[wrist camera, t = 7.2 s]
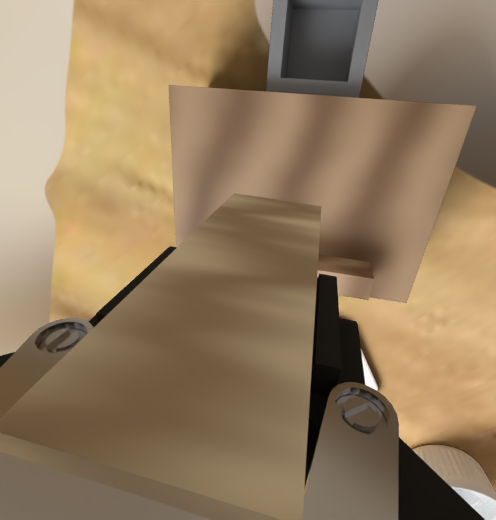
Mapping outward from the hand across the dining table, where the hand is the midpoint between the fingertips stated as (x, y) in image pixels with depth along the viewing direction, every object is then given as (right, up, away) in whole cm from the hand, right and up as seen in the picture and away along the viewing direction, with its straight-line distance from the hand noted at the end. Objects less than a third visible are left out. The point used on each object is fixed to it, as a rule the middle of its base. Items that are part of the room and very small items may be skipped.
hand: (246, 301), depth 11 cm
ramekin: (+30, -31, +39) cm, 58 cm away
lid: (+4, +7, +17) cm, 19 cm away
